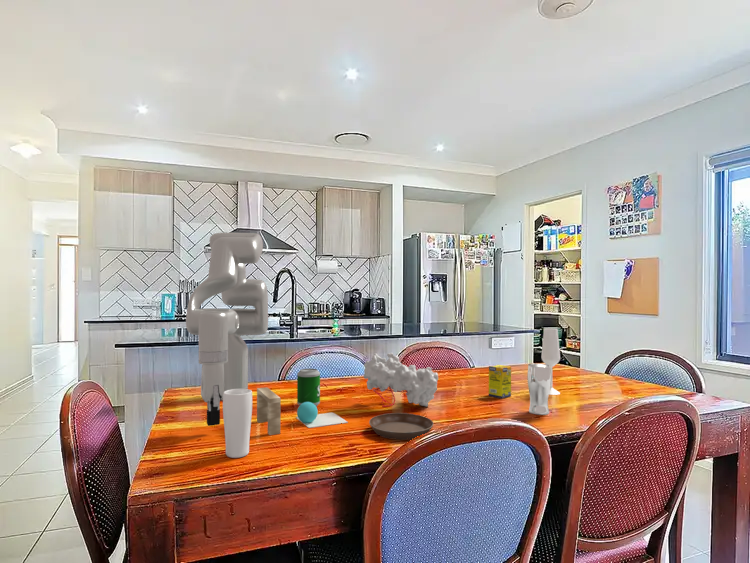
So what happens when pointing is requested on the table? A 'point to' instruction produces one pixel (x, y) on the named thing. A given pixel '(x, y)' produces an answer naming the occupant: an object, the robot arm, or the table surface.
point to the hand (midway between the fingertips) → (213, 424)
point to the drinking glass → (237, 421)
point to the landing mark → (325, 420)
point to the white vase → (539, 388)
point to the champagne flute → (551, 352)
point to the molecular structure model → (400, 379)
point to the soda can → (308, 386)
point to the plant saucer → (400, 425)
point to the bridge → (269, 409)
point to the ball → (307, 412)
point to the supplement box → (500, 381)
